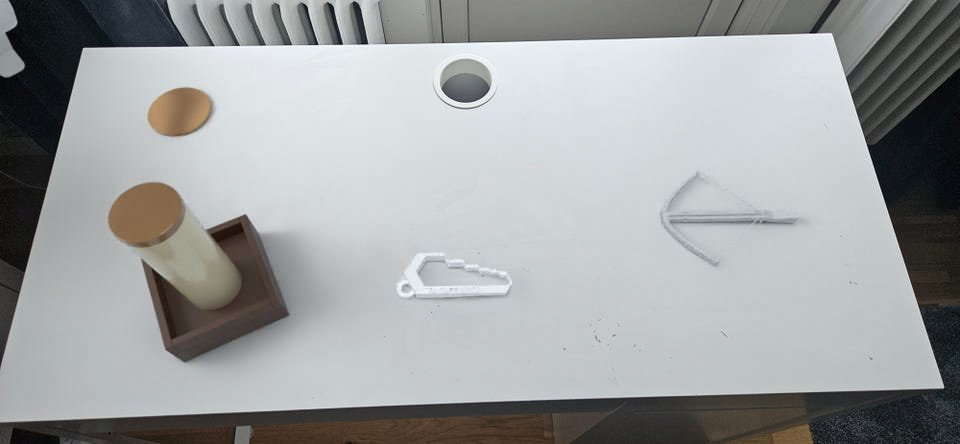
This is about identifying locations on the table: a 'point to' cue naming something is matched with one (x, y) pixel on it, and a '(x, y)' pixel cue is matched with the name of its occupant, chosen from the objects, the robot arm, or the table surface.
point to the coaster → (179, 111)
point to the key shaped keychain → (447, 291)
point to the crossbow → (718, 218)
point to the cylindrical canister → (175, 244)
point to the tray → (250, 310)
